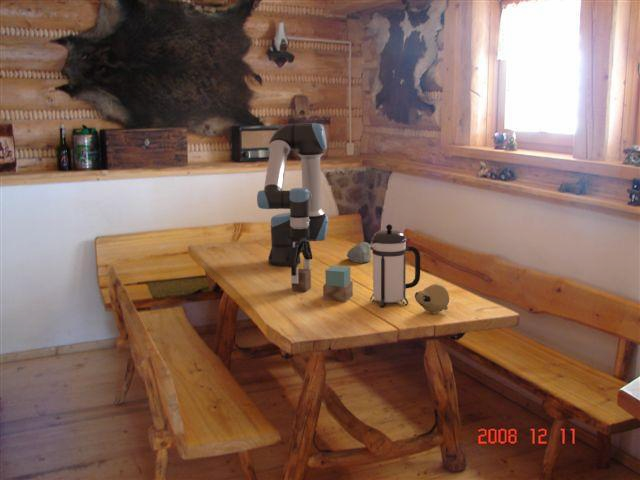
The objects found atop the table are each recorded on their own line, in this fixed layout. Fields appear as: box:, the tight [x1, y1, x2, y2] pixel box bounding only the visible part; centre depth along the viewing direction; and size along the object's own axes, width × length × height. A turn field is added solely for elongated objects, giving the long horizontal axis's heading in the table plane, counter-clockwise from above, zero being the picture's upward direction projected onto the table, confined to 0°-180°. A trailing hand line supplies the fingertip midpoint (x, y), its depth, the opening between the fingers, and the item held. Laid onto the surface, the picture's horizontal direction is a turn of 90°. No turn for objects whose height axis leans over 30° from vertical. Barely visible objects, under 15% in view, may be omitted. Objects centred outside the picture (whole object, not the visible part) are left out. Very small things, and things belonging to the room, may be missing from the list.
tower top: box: [324, 265, 351, 287], centre depth 265 cm, size 8×8×6 cm
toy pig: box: [414, 283, 450, 316], centre depth 246 cm, size 10×12×11 cm
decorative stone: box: [346, 241, 372, 264], centre depth 324 cm, size 13×11×10 cm
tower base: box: [322, 280, 354, 303], centre depth 267 cm, size 9×9×6 cm
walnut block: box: [291, 268, 312, 293], centre depth 279 cm, size 6×6×8 cm
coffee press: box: [369, 223, 421, 309], centre depth 258 cm, size 17×16×30 cm
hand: (301, 279), depth 278 cm, fingers open, 13 cm apart
